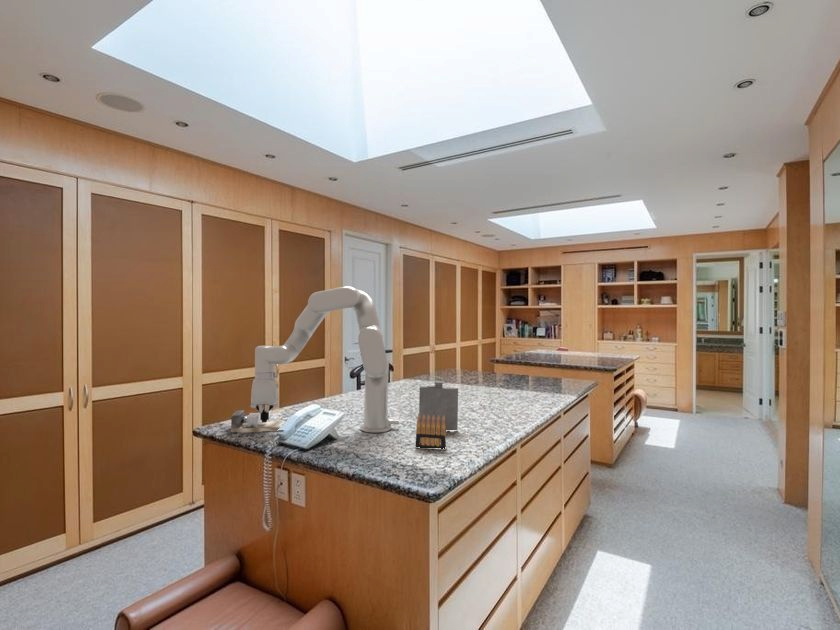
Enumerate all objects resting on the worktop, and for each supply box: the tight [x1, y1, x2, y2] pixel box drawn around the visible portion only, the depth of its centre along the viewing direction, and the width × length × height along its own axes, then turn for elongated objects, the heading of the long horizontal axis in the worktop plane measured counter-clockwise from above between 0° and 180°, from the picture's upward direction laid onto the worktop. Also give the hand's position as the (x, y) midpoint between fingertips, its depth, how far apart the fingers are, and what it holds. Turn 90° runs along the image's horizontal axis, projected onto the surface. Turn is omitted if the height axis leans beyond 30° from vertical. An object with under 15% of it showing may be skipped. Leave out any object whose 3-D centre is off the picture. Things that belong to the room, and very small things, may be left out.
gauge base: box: [230, 410, 286, 433], centre depth 174 cm, size 20×10×6 cm, turn 101°
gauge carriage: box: [241, 412, 261, 428], centre depth 172 cm, size 6×9×4 cm
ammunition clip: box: [414, 413, 447, 449], centre depth 153 cm, size 11×2×12 cm, turn 81°
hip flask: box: [418, 381, 459, 431], centre depth 177 cm, size 16×4×20 cm, turn 80°
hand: (264, 421), depth 175 cm, fingers closed
